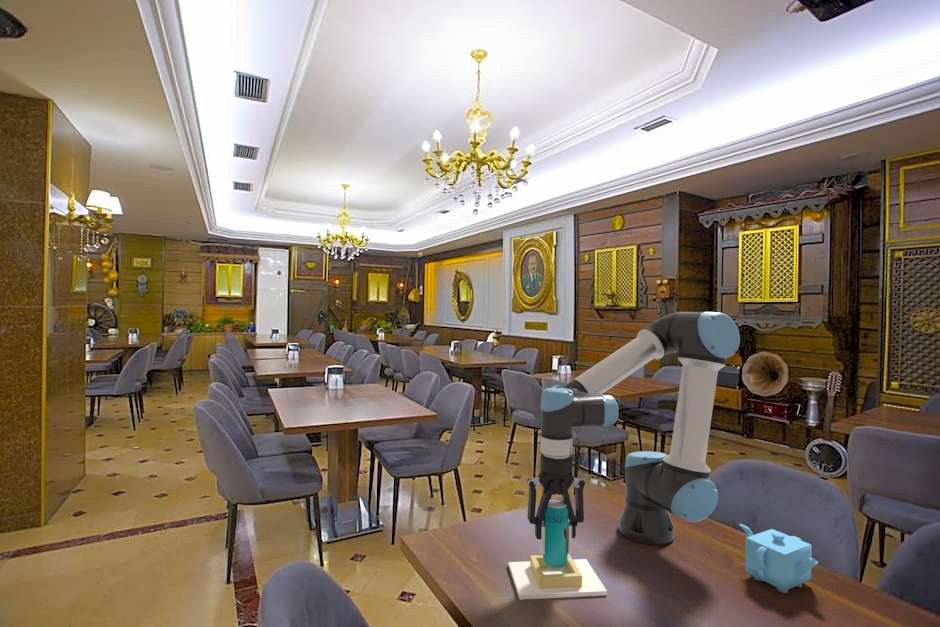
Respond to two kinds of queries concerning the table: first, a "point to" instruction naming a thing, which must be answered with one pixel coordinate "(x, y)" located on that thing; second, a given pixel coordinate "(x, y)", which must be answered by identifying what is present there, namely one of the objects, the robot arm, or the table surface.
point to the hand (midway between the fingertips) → (555, 551)
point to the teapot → (778, 559)
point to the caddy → (555, 579)
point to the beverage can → (556, 534)
